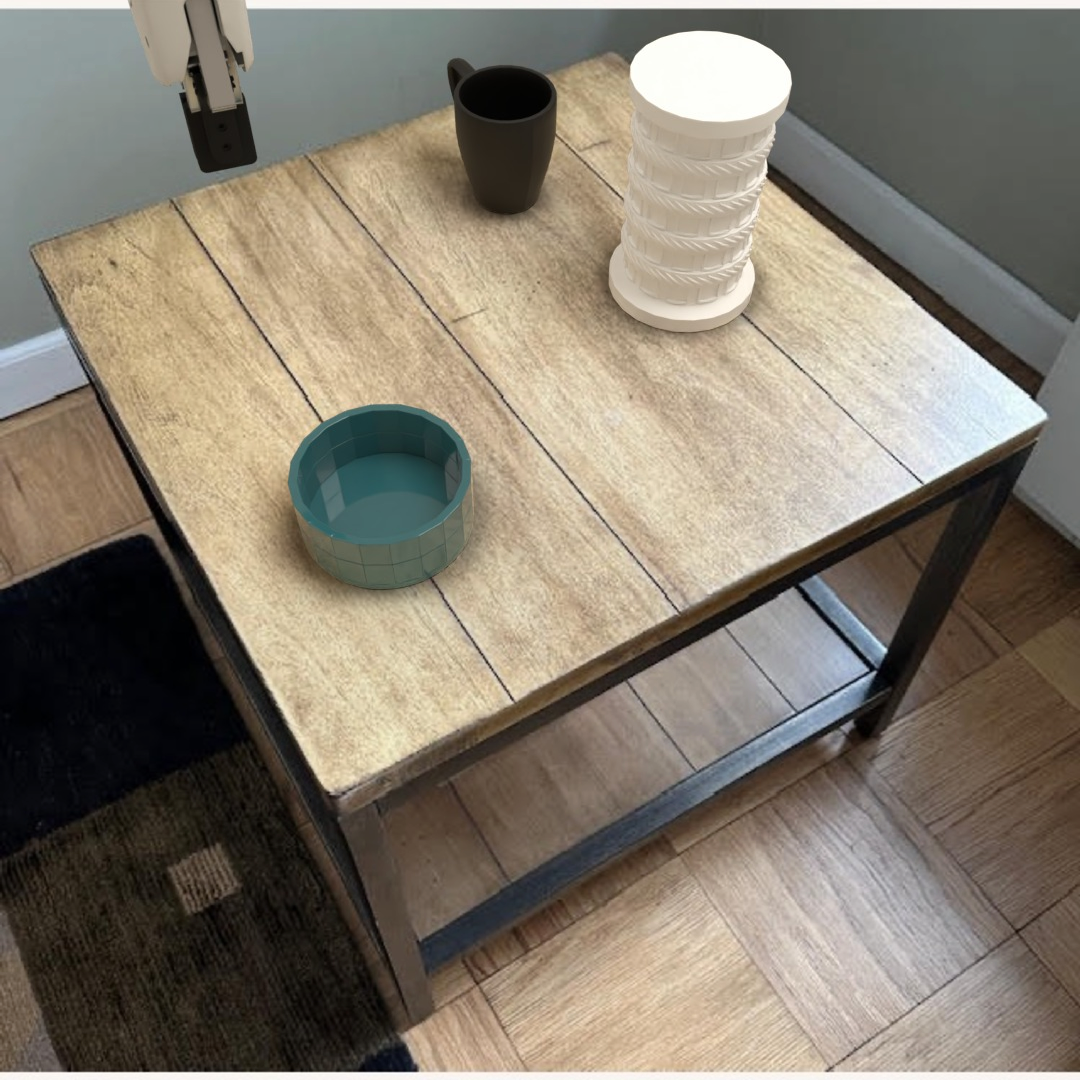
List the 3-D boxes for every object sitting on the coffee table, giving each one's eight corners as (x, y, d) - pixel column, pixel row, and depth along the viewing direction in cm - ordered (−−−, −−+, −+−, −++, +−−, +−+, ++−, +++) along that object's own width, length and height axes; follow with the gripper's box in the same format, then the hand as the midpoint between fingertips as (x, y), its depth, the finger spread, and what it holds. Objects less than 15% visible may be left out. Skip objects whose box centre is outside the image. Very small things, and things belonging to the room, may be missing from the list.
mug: (499, 132, 100) (497, 32, 92) (573, 203, 94) (577, 102, 86) (420, 162, 97) (411, 61, 89) (491, 236, 91) (488, 135, 83)
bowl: (292, 590, 70) (277, 545, 66) (310, 452, 77) (298, 404, 73) (472, 588, 71) (469, 543, 67) (475, 451, 77) (472, 403, 73)
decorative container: (587, 252, 90) (598, 44, 75) (715, 223, 92) (750, 16, 78) (641, 347, 84) (665, 139, 69) (777, 313, 86) (828, 105, 71)
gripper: (27, -267, 50) (136, 102, 65) (74, -129, 42) (186, 257, 57) (192, -284, 52) (261, 78, 66) (268, -155, 44) (327, 225, 58)
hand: (226, 159), depth 61 cm, fingers closed
